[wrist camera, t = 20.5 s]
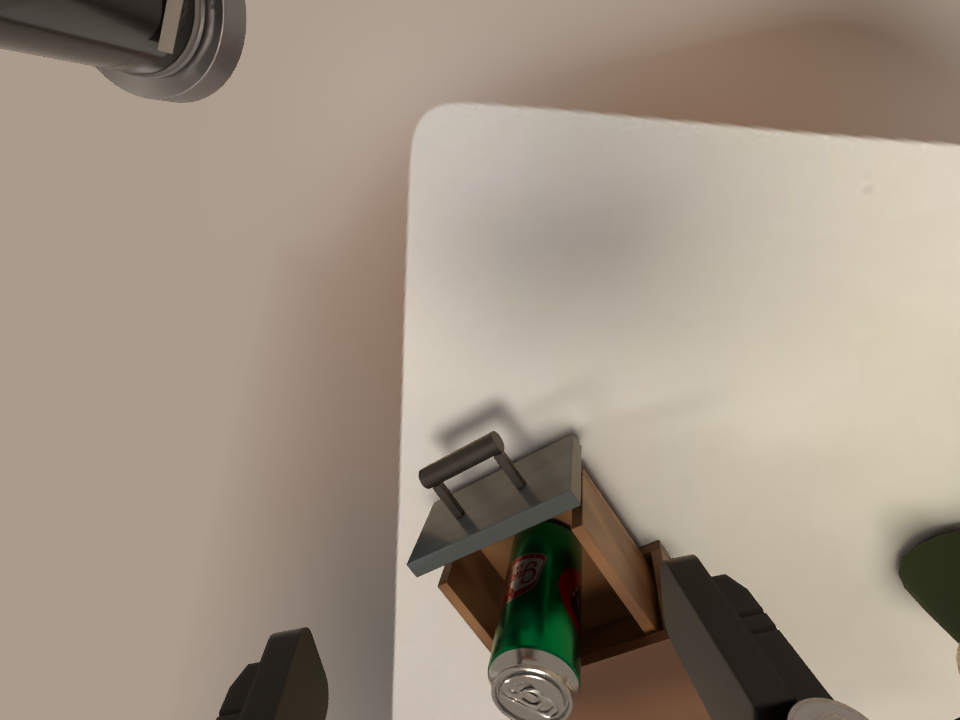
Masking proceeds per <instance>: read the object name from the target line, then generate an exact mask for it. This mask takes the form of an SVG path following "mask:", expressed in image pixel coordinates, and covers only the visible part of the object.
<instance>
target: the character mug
mask: <svg viewBox="0 0 960 720" xmlns="http://www.w3.org/2000/svg"><path fill="white" fill-rule="evenodd" d="M899 575H900V578H901V580H902V583H903V585H904V588H905V589H906V590H907V591H908V592H909V593H910V594H911V595H912V597H913V598H914V599H915V600H916V601H917V602H918V603H919V604H920V605H921V606H922V608H923V609H924V610H925V611H926V612H927V613H928V614H929V615H930V616H931V617H932V618H933V619H934V620H935V621H936V622H937V623H938V624H939V625H940V626H941V627H942V628H943V629H944V630H945V631H946V632H947V633H948V634H949V635H951V636H952V637H953V638H954V639H955V640H956V641H957V642H958V643H959V646H958V649H957V656H956V659H957V665H958V671H959V673H960V531H957V532H951V533H945V534H941V535H938V536H936V537H934V538H932V539H930V540H928V541H925V542H923V543H921V544H919V545H918V546H916V547H915V548H914V549H912V550H911V551H910V552H908V553H907V554H906V555H904V556H903V558H902V562H901V566H900V570H899Z"/></svg>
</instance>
